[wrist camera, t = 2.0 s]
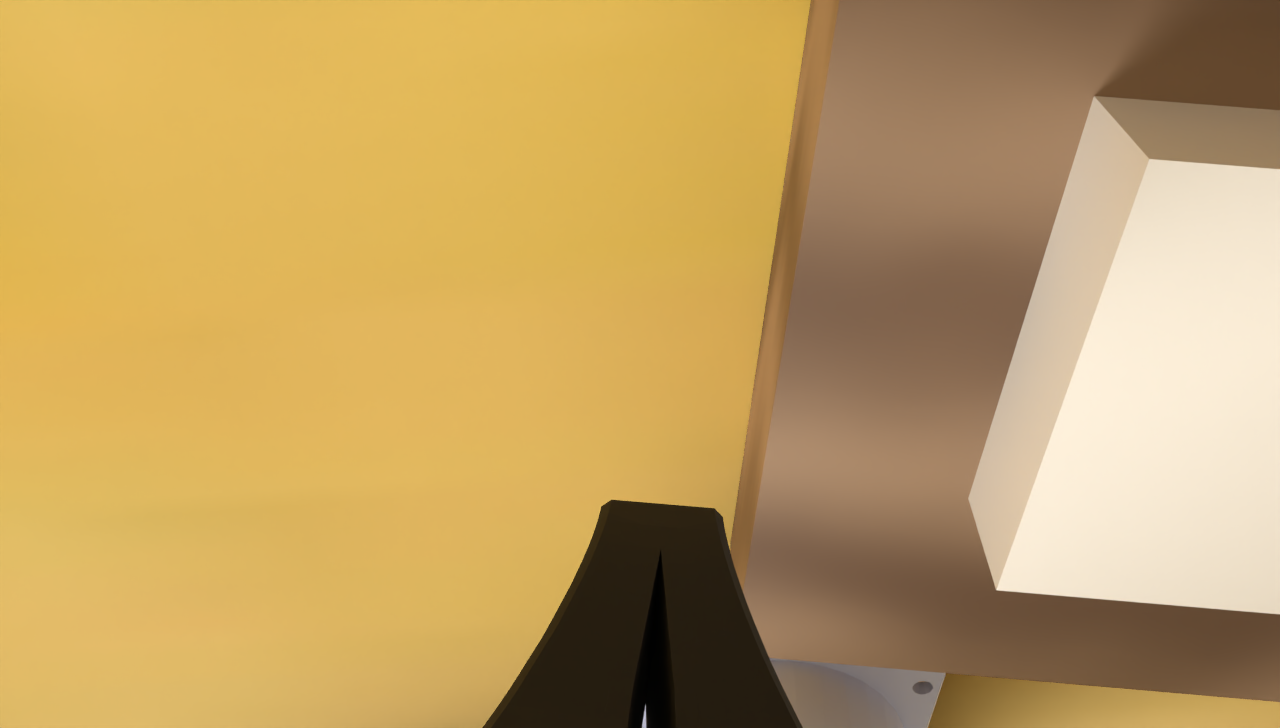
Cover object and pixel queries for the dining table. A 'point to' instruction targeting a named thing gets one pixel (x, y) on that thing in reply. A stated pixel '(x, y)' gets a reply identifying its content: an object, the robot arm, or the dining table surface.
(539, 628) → the dining table surface
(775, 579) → the walnut riser
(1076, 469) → the cream tile
